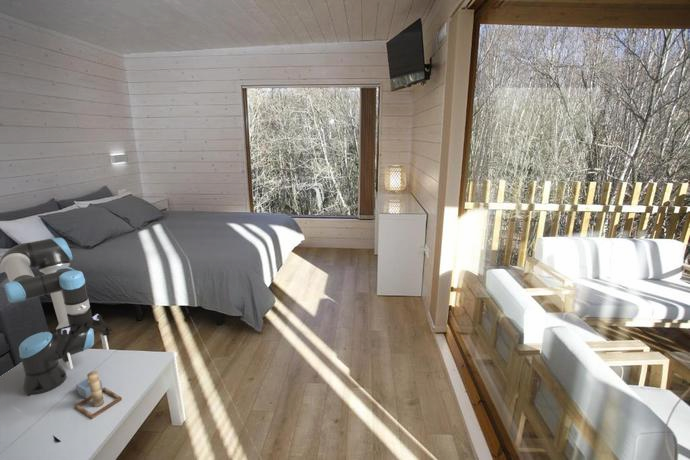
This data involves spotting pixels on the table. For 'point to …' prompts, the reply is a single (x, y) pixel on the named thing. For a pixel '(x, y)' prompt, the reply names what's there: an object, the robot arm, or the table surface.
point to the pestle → (95, 389)
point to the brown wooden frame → (117, 399)
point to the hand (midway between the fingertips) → (88, 357)
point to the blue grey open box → (85, 388)
